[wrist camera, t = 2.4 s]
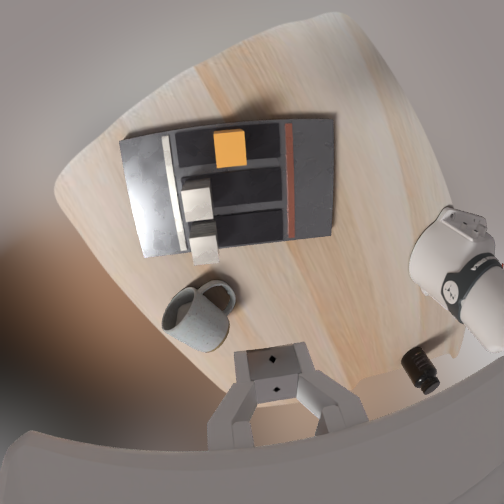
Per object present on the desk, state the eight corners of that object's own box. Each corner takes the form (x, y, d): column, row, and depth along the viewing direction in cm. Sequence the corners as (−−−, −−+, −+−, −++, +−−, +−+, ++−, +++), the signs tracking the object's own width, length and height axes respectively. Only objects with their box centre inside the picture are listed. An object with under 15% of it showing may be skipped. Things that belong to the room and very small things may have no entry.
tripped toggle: (240, 128, 30) (244, 131, 26) (242, 157, 31) (246, 165, 27) (213, 131, 29) (213, 134, 25) (216, 160, 31) (216, 168, 27)
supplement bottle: (418, 358, 62) (438, 390, 52) (397, 367, 62) (416, 401, 51) (424, 342, 59) (447, 375, 48) (403, 351, 58) (425, 387, 48)
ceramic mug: (200, 331, 46) (201, 366, 39) (163, 305, 43) (157, 339, 36) (246, 296, 44) (253, 329, 37) (209, 264, 40) (209, 296, 34)
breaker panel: (328, 118, 32) (350, 121, 26) (327, 230, 40) (344, 252, 34) (123, 139, 30) (104, 146, 24) (146, 252, 38) (136, 277, 32)
